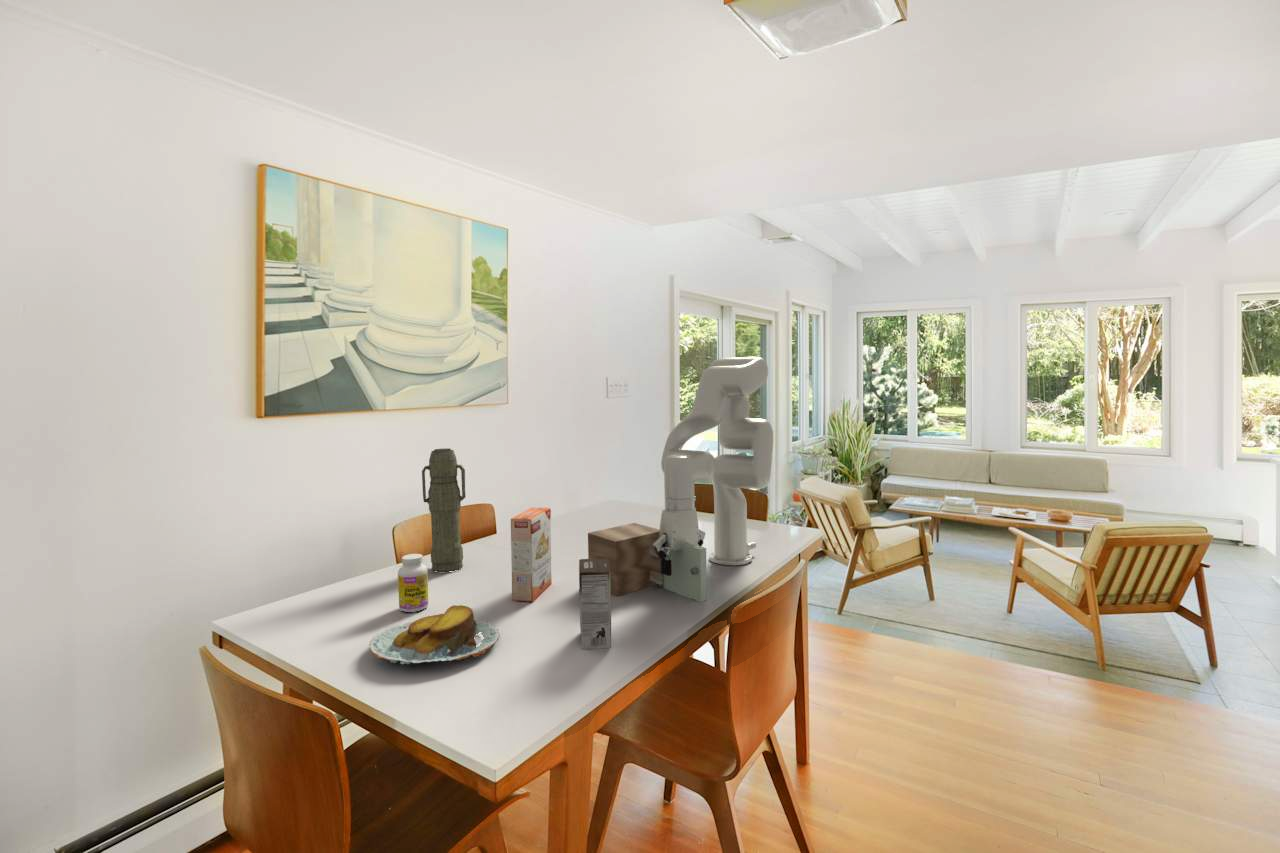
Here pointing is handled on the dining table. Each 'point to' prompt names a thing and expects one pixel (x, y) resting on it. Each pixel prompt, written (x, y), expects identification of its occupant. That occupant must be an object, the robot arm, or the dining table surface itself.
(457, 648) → the food on plate
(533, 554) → the cracker box
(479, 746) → the dining table surface
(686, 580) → the door
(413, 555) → the supplement bottle
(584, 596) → the coffee box
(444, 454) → the thermos
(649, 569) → the cabinet
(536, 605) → the dining table surface
